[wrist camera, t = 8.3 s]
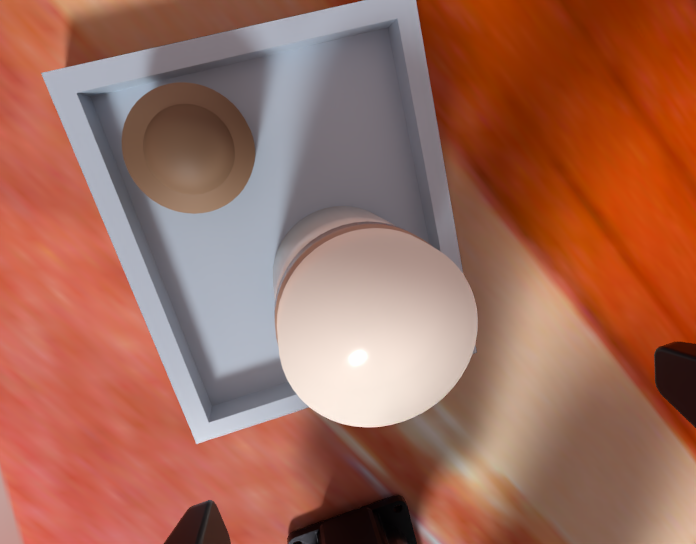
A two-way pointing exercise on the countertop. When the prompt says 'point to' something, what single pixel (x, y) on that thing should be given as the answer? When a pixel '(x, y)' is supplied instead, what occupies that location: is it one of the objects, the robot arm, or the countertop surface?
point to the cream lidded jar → (369, 318)
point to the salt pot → (188, 147)
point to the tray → (261, 183)
